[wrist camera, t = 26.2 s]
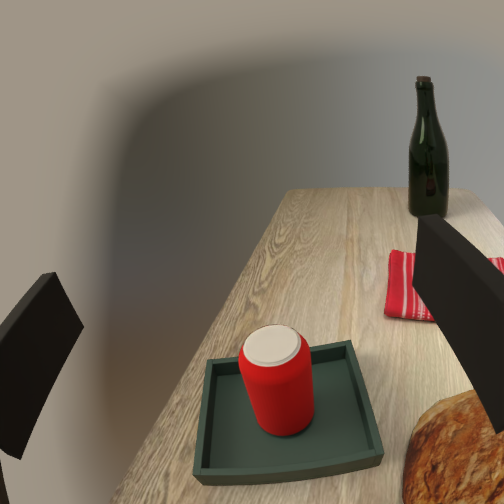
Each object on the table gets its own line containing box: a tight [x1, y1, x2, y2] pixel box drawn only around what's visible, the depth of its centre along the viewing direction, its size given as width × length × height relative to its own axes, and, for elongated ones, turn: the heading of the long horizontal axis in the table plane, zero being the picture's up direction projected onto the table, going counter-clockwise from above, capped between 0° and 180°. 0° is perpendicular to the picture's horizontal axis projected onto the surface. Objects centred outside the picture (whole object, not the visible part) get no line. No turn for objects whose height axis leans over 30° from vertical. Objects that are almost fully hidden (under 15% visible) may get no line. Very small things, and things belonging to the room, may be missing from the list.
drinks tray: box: [192, 340, 384, 485], centre depth 30 cm, size 18×16×3 cm
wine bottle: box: [408, 76, 449, 218], centre depth 60 cm, size 10×10×33 cm
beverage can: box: [238, 324, 314, 436], centre depth 27 cm, size 6×6×12 cm
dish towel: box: [384, 250, 504, 321], centre depth 42 cm, size 17×24×3 cm
